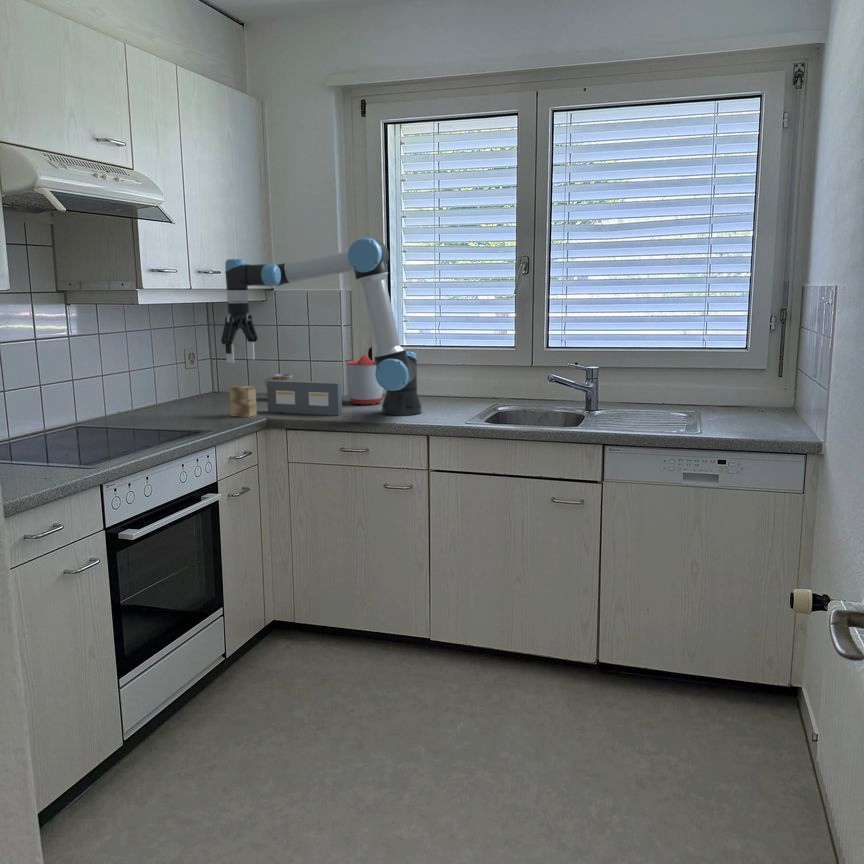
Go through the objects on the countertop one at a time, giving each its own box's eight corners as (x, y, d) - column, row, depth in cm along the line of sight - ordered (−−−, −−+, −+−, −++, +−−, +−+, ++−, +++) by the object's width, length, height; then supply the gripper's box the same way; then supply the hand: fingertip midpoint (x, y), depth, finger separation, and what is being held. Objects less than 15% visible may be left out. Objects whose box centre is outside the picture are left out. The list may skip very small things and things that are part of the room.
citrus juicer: (385, 406, 311) (384, 356, 308) (342, 406, 313) (341, 356, 310) (392, 400, 327) (391, 353, 323) (351, 400, 329) (350, 352, 325)
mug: (295, 398, 336) (294, 373, 334) (292, 401, 327) (291, 376, 325) (267, 398, 335) (266, 374, 333) (263, 401, 326) (262, 376, 324)
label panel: (342, 414, 293) (341, 382, 291) (338, 415, 290) (337, 383, 287) (272, 410, 303) (270, 380, 300) (267, 412, 299) (265, 381, 297)
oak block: (256, 415, 292) (255, 386, 290) (249, 417, 288) (248, 388, 286) (238, 414, 295) (236, 385, 293) (230, 416, 290) (229, 387, 288)
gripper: (247, 301, 296) (250, 357, 300) (208, 303, 273) (212, 363, 277) (265, 301, 294) (267, 358, 298) (227, 303, 271) (230, 364, 275)
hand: (241, 360), depth 288 cm, fingers open, 13 cm apart
